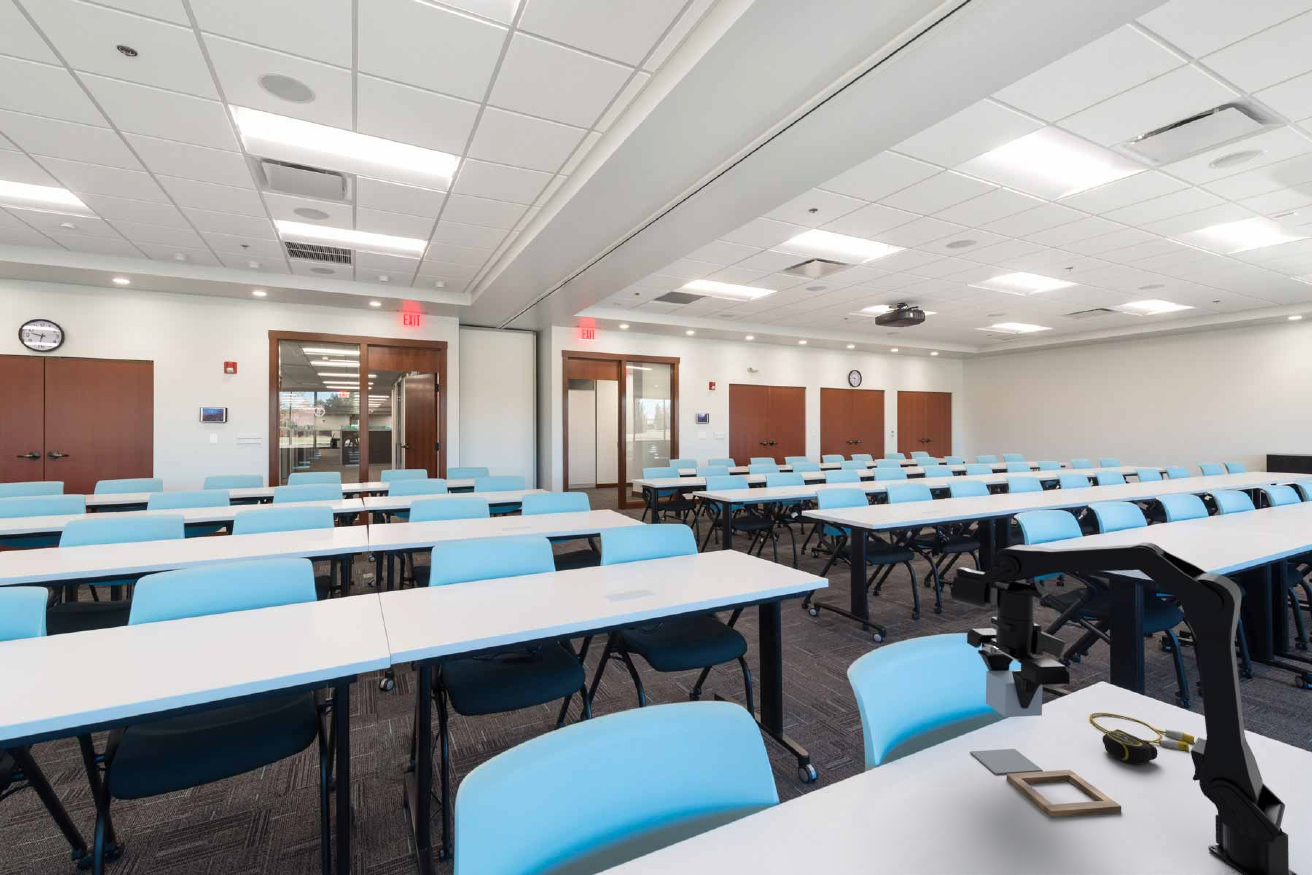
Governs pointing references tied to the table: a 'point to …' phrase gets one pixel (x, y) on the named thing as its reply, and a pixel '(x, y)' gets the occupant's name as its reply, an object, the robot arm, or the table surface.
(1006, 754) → the pad
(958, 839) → the table surface
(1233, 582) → the robot arm
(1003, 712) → the part block
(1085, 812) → the frame
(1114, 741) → the tape measure
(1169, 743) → the extension cord
